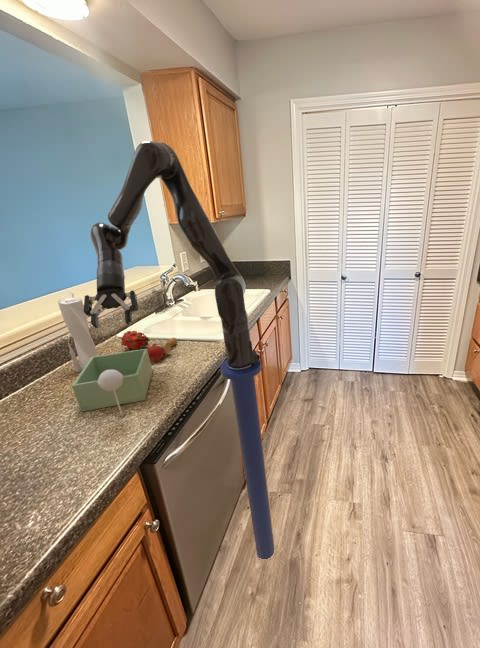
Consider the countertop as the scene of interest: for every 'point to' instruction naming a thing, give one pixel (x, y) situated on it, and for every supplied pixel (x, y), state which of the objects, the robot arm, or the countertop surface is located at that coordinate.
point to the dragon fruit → (134, 340)
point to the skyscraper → (78, 331)
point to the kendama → (160, 349)
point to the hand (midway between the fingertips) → (112, 325)
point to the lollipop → (111, 382)
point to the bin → (132, 389)
